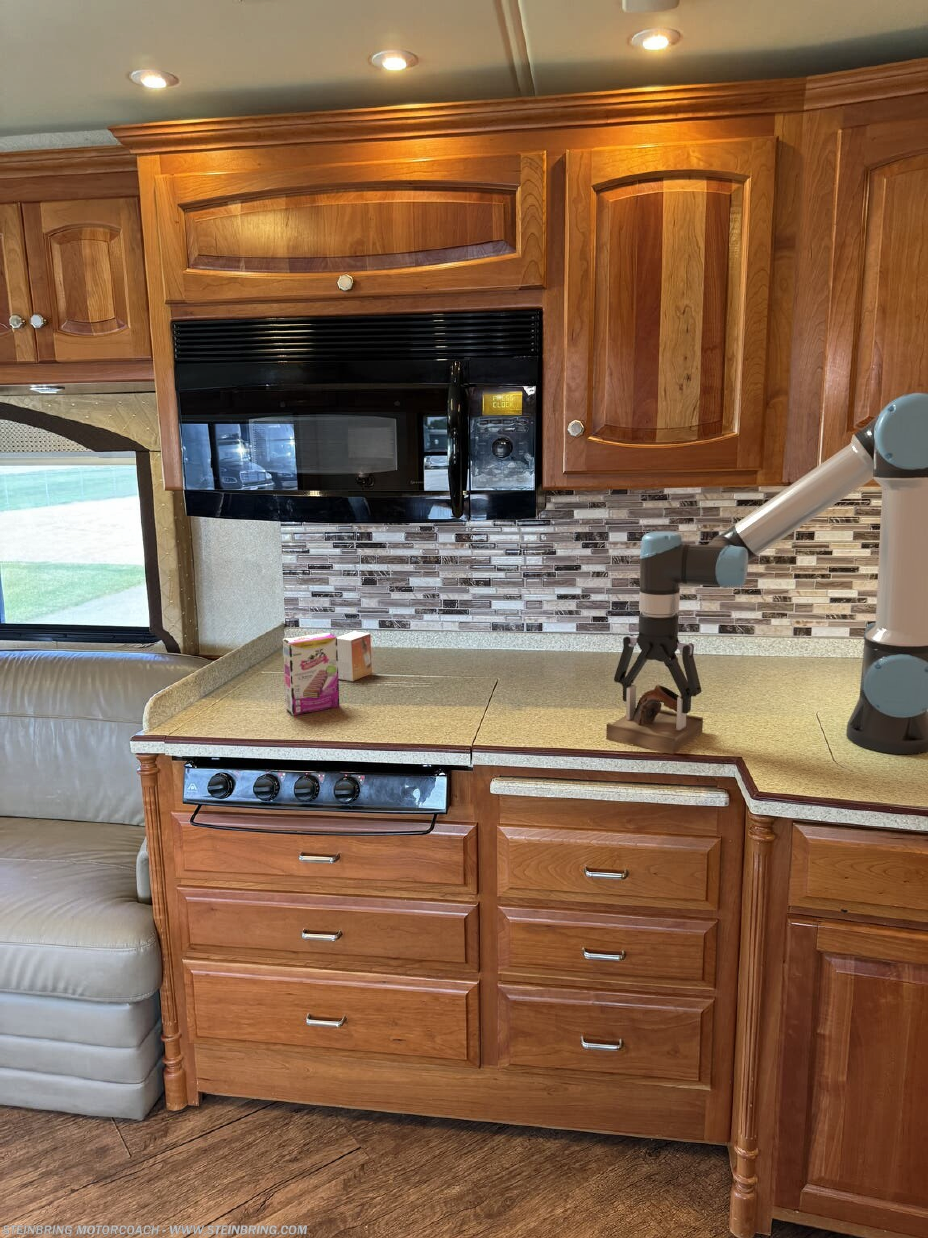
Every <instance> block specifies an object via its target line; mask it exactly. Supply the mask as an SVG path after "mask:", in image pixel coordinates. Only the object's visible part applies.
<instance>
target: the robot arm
mask: <svg viewBox="0 0 928 1238" xmlns="http://www.w3.org/2000/svg"><path fill="white" fill-rule="evenodd" d="M871 480H874V481H875V482H876V483H877V484H878V485H879V486H880V487H881V506H880V507H881V508H880V525H879V527H880V528H879V529H880V530H879V548H878V549H879V550H878V565H877V567H878V568H877V588H876V604H875V605H876V606H875V607H876V608H875V622H871V623H869V624H867V626H866V627H865V632H864V635H863V640H864V642H863V652H862V662H861V664H862V665H861V675H860V676H861V677H860V685H859V686H860V687H859V697H858V700H857V702H856V704H855V706H854V708H853V711H852V713H851V715H850V717H849V719H848V721H847V724H846V733H845V735H846V738H847V739H848V740H849V741H850V742H852V743H854V744H855V745H857V746H859V747H862V748H866V749H868V750H871V751H876V752H880V753H886V754H896V755H915V754H914V753H918V754H920V753H919V752H923V753H927V752H928V393H927V392H914V393H909V394H908V393H907V394H903V395H901V396H898V397H897V398H895V399H894V400H892V401H890V402H889V403H888V404H886V405H885V406H884V407H883V409H882V410H881V411H880V412H879V413H878V414H877V415H876V416H875V417H874V418H873V419H872V420H871V421H870V422H869V423H868V424H866V425H865V426H864V427H862V428H861V429H860V430H858V431H857V432H855V433H854V434H852V437H851V441H850V442H849V444H848V445H846V446H845V447H843V448H842V449H841V450H839V451H837V452H836V453H835V454H834V455H832V456H831V457H829V458H828V459H826V460H825V461H823V462H822V463H821V464H819V465H818V466H816V467H815V468H813V469H812V470H811V471H809V472H808V473H806V474H804V475H803V476H802V477H800V478H799V479H798V480H796V481H795V482H793V483H792V484H790V485H789V486H787V487H786V488H785V489H784V490H782V491H781V492H779V493H777V494H776V495H775V496H774V497H772V498H771V499H769V500H768V501H766V502H765V503H763V504H762V505H760V506H759V507H758V508H756V509H755V510H754V511H752V512H750V513H749V514H748V515H746V516H745V517H743V518H742V519H741V520H739V521H738V522H736V523H735V524H734V525H732V526H731V527H729V528H727V529H726V530H724V531H723V532H722V533H720V534H718V535H716V536H715V537H714V538H712V539H711V540H709V542H708V543H707V544H689V543H688V544H687V543H684V542H683V539H682V535H681V534H680V533H678V532H674V531H673V532H671V531H651V532H647V533H646V534H644V535H643V536H642V537H641V545H640V555H639V596H638V597H639V599H638V611H640V612H641V613H639V615H638V635H637V636H635V635H633V634H628V635H627V636H624V637H623V638H622V645H623V646H622V647H623V648H622V652H621V654H620V657H619V661H618V664H617V668H616V670H615V674H614V676H613V677H614V678H613V680H614V682H615V683H618V684H620V685H622V701H623V702H626V703H625V704H626V705H625V706H626V707H625V709H626V710H625V716H626V719H628V720H630V719H631V718H633V716H634V713H635V708H636V707H637V684H634V682H635V680H636V678H637V677H638V675H639V673H640V672H641V670H643V667H644V666H645V664H646V663H647V661H654V660H655V661H657V662H659V663H660V662H661V663H664V665H665V667H666V668H667V669H668V671H669V672H670V675H671V677H672V680H673V681H674V683H675V684H676V687H677V690H678V692H679V693H680V695H679V697H677V724H676V730H681V729H683V728H684V727H685V726H686V714H687V715H688V713H690V712H691V709H692V697H696V696H697V695H699V694H701V693H702V687H701V683H700V678H699V674H698V669H697V666H696V662H695V656H694V651H695V650H694V649H695V644H693V643H692V642H691V643H688V644H687V643H683V642H680V640H679V638H678V637H679V624H680V623H679V621H680V619H679V618H680V616H679V615H678V614H677V613H678V612H680V589H681V588H680V586H681V585H692V586H694V585H695V586H708V587H709V586H710V587H723V588H730V587H731V588H740V587H743V586H744V585H745V584H746V582H747V577H748V570H749V562H751V561H752V560H754V559H755V558H756V557H758V556H759V555H760V554H762V553H764V552H765V551H766V550H768V549H770V548H771V547H772V546H774V545H775V544H777V543H778V542H781V540H783V539H785V538H787V536H789V535H790V534H792V533H793V532H796V530H798V529H799V528H801V527H802V526H804V525H806V524H807V523H809V522H810V521H811V520H813V519H815V518H816V517H818V516H820V514H823V512H825V511H826V510H828V509H830V508H831V507H833V506H834V505H835V504H837V503H839V502H841V500H843V499H844V498H846V497H848V496H849V495H851V494H852V493H853V492H855V491H857V490H858V489H860V488H861V487H863V486H864V485H866V484H867V483H869V482H871ZM636 646H638V647H639V648H640V652H639V654H638V655H637V656H636V660H635V662H634V663H633V664H632V667H631V668H630V669H629V670H628V668H629V665H630V663H631V660H632V656H633V652H634V649H635V647H636ZM677 650H679V654H680V655H681V657H682V658H681V659H682V664H683V668H684V671H685V674H684V671H683V669H682V667H681V666H680V663H679V658H678V657H677V654H676V652H677ZM926 751H927V752H926Z"/></svg>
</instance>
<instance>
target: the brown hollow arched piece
mask: <svg viewBox="0 0 928 1238" xmlns="http://www.w3.org/2000/svg"><path fill="white" fill-rule="evenodd" d="M679 696H680V695H678V693H676V692H674V691H672V690H671V689H669V688H667V687H665V686H663V685H661V684H660V685H659V684H656V685H655V686H654V687H653V689H650V690H647V691H646V692H644V693H643V694H642V695H641V696H640V698H639V699H638V702H637V704H636V708H635V713H634V716H633V719H634V721H635V722H636V723H637V724H638V725H640V724H641V720H642V721H643V722H644V723H645V724H653V721H654V719H655V717H656V716H657V714H658V712H660V710H661V709H662V706H664V707H666V708H668V709H669V710H673V712H677V697H679Z"/></svg>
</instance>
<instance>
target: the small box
mask: <svg viewBox="0 0 928 1238" xmlns="http://www.w3.org/2000/svg"><path fill="white" fill-rule="evenodd" d="M336 637H337V652H338V677H339V680H344V681H349V682H350V681H351V682H355V681H356V680H359V679H361V678H364V677H367V676H370V675H372V673H373V669H372V668H373V667H372V666H373V665H372V663H373V662H372V643H371V642H372V641H371V640H372V638H371V633H369V632H361V631H354V630H353V631H351V632H348V633H346V634H343V635H340V636H336Z"/></svg>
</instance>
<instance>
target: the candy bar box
mask: <svg viewBox="0 0 928 1238" xmlns="http://www.w3.org/2000/svg"><path fill="white" fill-rule="evenodd" d="M337 637H338V636H336V635H334V634H333V633H330V632H323V633H317V634H308V635H302V636H301V635H300V636H294V637H285V638H282V639H281V640H282V657H283V672H284V676H283V677H284V679H283V680H284V695H285V697H284V698H285V710H286V711H287V712H289V713H290V714H291V715H292V716H298V715H302V714H303V715H304V714H308V713H313V712H318V711H324V710H329V709H335V708H338V707H340V685H339V684H340V682H339V680H340V679H339V677H338V652H337Z"/></svg>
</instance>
